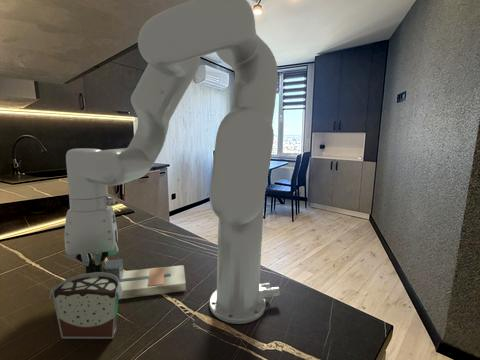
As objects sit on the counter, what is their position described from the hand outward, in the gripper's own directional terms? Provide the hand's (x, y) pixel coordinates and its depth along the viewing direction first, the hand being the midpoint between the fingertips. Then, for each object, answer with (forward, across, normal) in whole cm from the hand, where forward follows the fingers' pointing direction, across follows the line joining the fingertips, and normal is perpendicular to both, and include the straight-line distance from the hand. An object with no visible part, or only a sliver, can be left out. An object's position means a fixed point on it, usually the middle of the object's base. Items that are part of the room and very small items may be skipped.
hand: (94, 278), depth 60 cm
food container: (+4, -3, +12) cm, 13 cm away
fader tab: (+1, -4, 0) cm, 4 cm away
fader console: (+3, -10, 0) cm, 10 cm away
